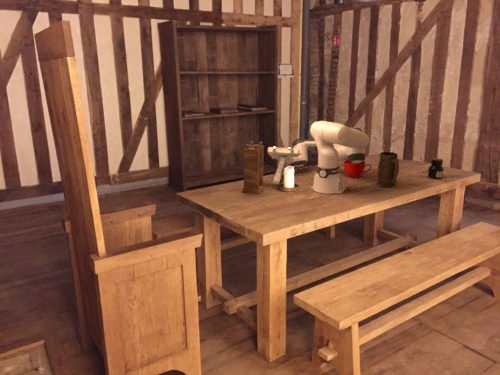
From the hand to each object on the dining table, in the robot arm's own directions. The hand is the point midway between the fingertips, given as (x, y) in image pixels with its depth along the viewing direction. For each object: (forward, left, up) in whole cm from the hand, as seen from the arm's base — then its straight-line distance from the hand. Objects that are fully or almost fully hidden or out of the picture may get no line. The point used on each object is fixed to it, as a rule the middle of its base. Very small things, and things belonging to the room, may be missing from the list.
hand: (281, 147), depth 272 cm
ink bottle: (-61, +78, -20) cm, 101 cm away
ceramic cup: (-32, +37, -20) cm, 53 cm away
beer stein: (-22, +61, -20) cm, 68 cm away
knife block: (+32, +1, -20) cm, 38 cm away
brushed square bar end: (+3, +1, -14) cm, 15 cm away
